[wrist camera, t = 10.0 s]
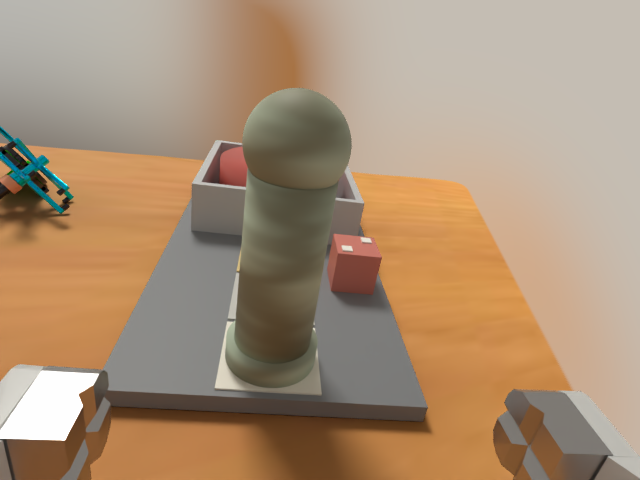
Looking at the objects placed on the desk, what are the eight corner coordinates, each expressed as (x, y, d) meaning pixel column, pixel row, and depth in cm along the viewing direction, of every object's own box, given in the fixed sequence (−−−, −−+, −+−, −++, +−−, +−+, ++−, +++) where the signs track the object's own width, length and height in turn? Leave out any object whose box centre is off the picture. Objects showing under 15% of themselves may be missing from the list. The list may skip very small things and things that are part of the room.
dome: (209, 220, 37) (213, 149, 34) (225, 177, 46) (228, 120, 44) (339, 233, 38) (351, 167, 35) (327, 189, 48) (337, 135, 45)
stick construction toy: (92, 197, 35) (9, 115, 31) (17, 259, 33) (-84, 179, 29) (66, 187, 45) (-1, 122, 41) (6, 235, 42) (-72, 171, 38)
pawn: (219, 385, 21) (238, 89, 15) (230, 323, 26) (248, 73, 20) (317, 390, 22) (372, 108, 16) (312, 329, 26) (354, 89, 20)
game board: (94, 405, 20) (85, 318, 18) (203, 183, 48) (204, 138, 46) (422, 421, 23) (449, 345, 20) (346, 199, 50) (354, 157, 48)
